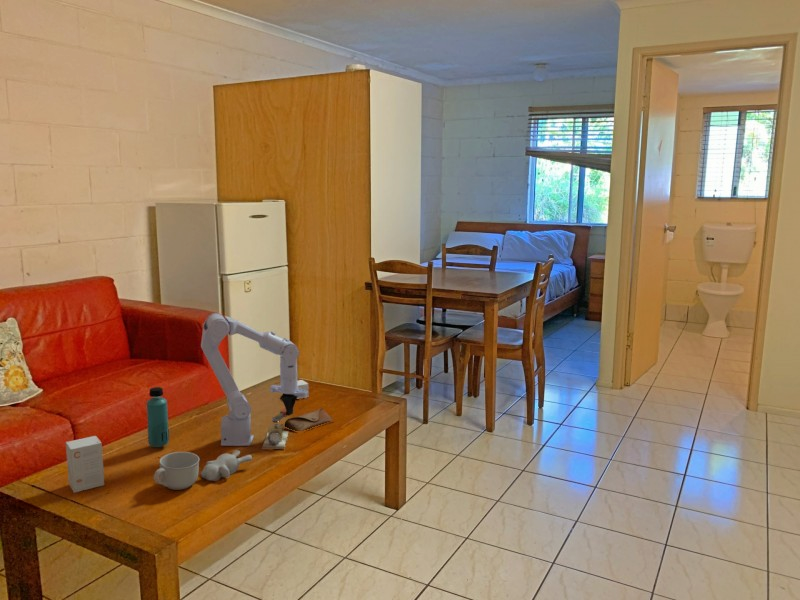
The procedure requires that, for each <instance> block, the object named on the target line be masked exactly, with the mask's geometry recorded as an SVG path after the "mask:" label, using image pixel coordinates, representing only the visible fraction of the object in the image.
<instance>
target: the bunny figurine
mask: <svg viewBox="0 0 800 600" xmlns="http://www.w3.org/2000/svg"><path fill="white" fill-rule="evenodd" d="M240 454H241V451H240V450H238V449H236V450H234V451H233V452H232V453H226V452H225V453H222V454H220V455H218V457H217V458H216V459H215V460H208V461H207V462H206V463H205V464H206V465H205V466H204V467H203V469H202V471H201V472H200V475H201V476H200V477H201V478H203V479H206V480H207V481H210V482H211V481H214V482H217V481H219V480H220V479H221V478H230V477H231V475H233V474H234V473H236V472H237V471H238V469H239V467H240V464H243V463H248V462H252V461H253V457H252V455H251V454H246V455H244V456H241V457H238V456H239V455H240ZM230 474H231V475H230Z"/></svg>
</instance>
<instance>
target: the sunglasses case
mask: <svg viewBox="0 0 800 600" xmlns="http://www.w3.org/2000/svg"><path fill="white" fill-rule="evenodd" d="M333 420H334V419H333V418H332V417H331V416H330V415H329V414H328V413H327V412H326V411H325V410H324V408H322V407H321V408H320V409H316V410H314V411H311V412H306V413H304V414H301V415H297V416H296V417H295V416H294V417H291V418H288V419H287V420H285V422H284V428H285V427H287V428H289V429H292V430H295V431H304V430H307V429H310V428H312V427H315V426H318V425H321V424H324V423H327V422H330V421H333Z"/></svg>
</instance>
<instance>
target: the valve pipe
mask: <svg viewBox="0 0 800 600" xmlns="http://www.w3.org/2000/svg"><path fill="white" fill-rule="evenodd" d="M268 426H269V427H268V429H267V431H268V432H267V433H268V441H269V443H270V444H271V445H273V446H274V445H277V444H278V443H279V442H280V441H282V439H283V431H284V423H269V425H268Z"/></svg>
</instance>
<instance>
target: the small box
mask: <svg viewBox="0 0 800 600" xmlns="http://www.w3.org/2000/svg"><path fill="white" fill-rule="evenodd" d="M102 444H103V443H102V442H101V440H100V439H99V438H98V437H97V436H96V435H92V436H87V437H84V438H79V439H75V440H69V441H65V450H66V452H65V453H66V464H67V475H68V477H67V478H68V486H69V487H70V489H71V490H72V491H73V494H75V493H79V492H82V491H83V490H84V491H86V490H90V489H93V488H98V487H102V486H105V475H104V473H105V471H104V460H103V459H104V458H103V445H102Z"/></svg>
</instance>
